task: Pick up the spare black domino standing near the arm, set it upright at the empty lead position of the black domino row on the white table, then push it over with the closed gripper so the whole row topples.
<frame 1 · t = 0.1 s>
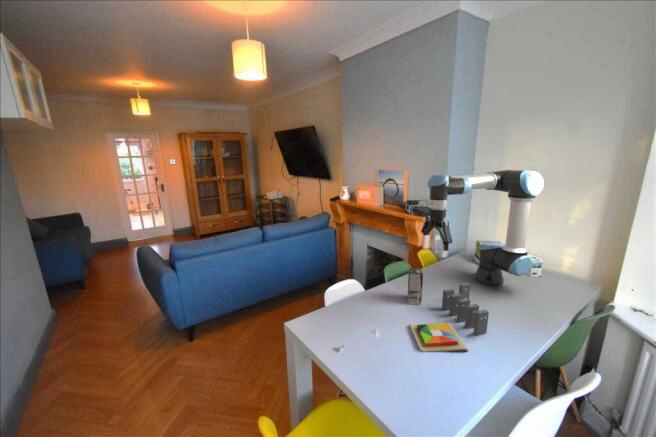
hand: (434, 252, 136), 28 cm above the table, fingers open, 13 cm apart
domino 6: (479, 333, 120), on the table
light bulb box: (529, 273, 177), on the table
domino 4: (462, 320, 129), on the table
domino 2: (447, 309, 138), on the table
domino 5: (470, 326, 124), on the table
domino 3: (454, 314, 134), on the table
wooden puzzle: (436, 339, 117), on the table
coffee box: (414, 300, 148), on the table
tea box: (488, 263, 195), on the table
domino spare: (463, 302, 144), on the table
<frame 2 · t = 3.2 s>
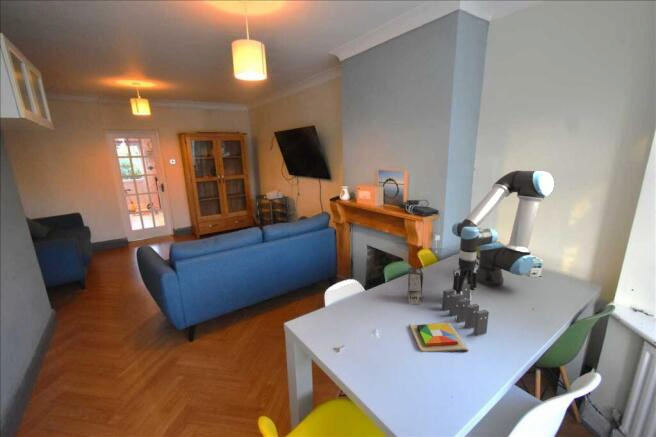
hand: (463, 301, 144), 0 cm above the table, fingers closed on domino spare, 5 cm apart
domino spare: (463, 302, 144), on the table, touching gripper
everything else where it was.
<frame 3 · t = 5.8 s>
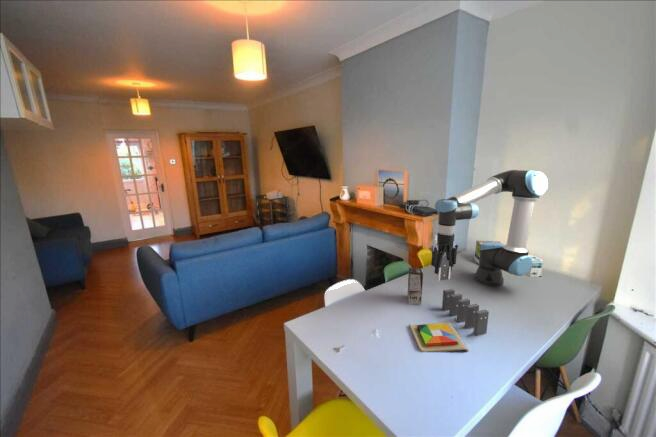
hand: (442, 278, 140), 14 cm above the table, fingers closed on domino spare, 5 cm apart
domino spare: (442, 279, 140), point 14 cm above the table, touching gripper
everything else where it was.
when the fingers open (1 cm above the table, at t = 8.3 s): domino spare stays where it is, on the table.
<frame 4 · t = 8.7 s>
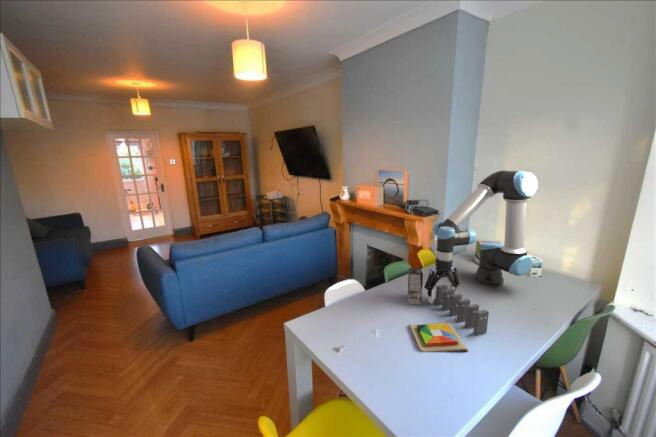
hand: (441, 299, 143), 2 cm above the table, fingers open, 11 cm apart
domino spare: (440, 304, 143), on the table
everything else where it was.
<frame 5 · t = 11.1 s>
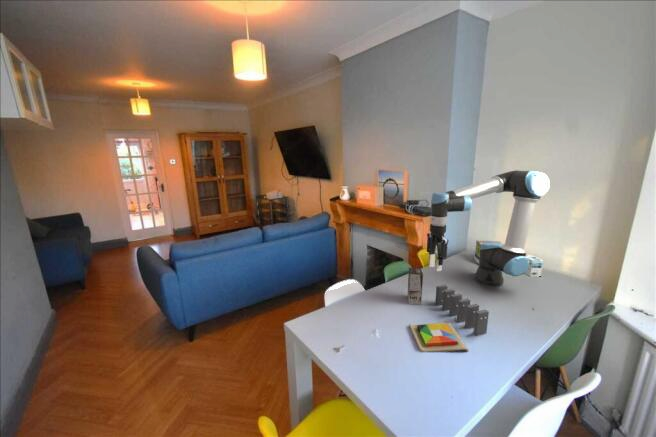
hand: (435, 268, 145), 17 cm above the table, fingers open, 5 cm apart
nothing on the table moved.
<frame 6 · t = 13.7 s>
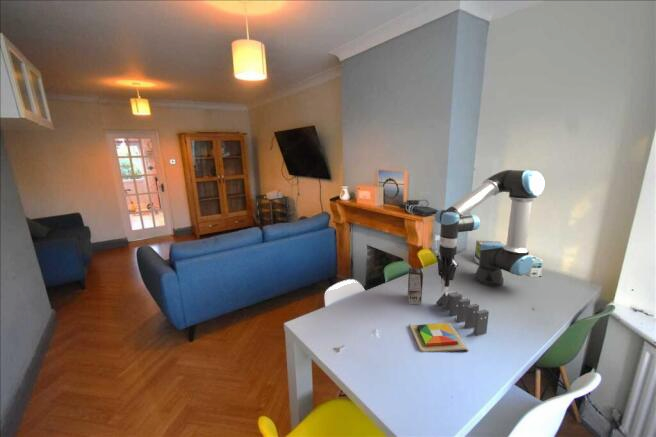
hand: (444, 291, 139), 8 cm above the table, fingers closed
domino 2: (447, 308, 138), on the table, tilted 18°
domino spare: (441, 303, 143), on the table, tilted 35°
everything else where it was.
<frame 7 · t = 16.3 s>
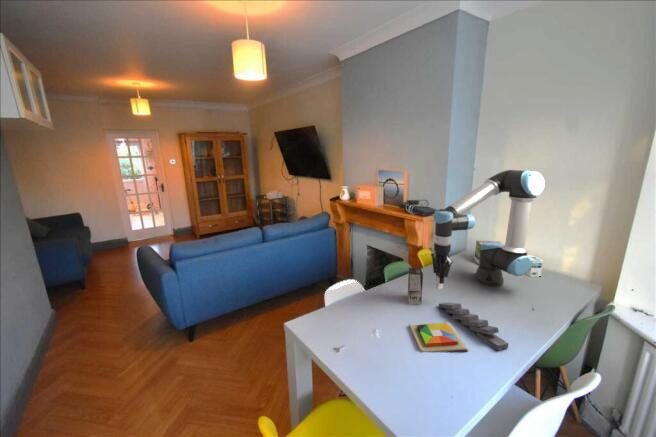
hand: (439, 288, 143), 8 cm above the table, fingers closed
domino 6: (482, 332, 118), point 1 cm above the table, tilted 88°, touching domino 5
domino 4: (465, 321, 127), point 1 cm above the table, tilted 64°, touching domino 3, domino 5
domino 2: (450, 309, 136), point 1 cm above the table, tilted 66°, touching domino 3, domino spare
domino 5: (474, 326, 122), point 1 cm above the table, tilted 68°, touching domino 4, domino 6
domino 3: (457, 315, 132), point 1 cm above the table, tilted 67°, touching domino 2, domino 4
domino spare: (443, 304, 141), point 1 cm above the table, tilted 66°, touching domino 2
everything else where it was.
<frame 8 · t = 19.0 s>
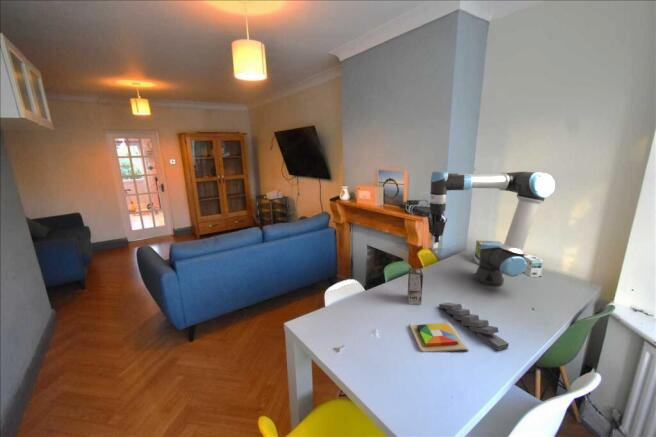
hand: (434, 247, 147), 26 cm above the table, fingers closed
at the end: domino 6 tilted 88°; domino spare tilted 66°; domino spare inside the target area (1.4 cm from its centre), point 0.8 cm above the table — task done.
